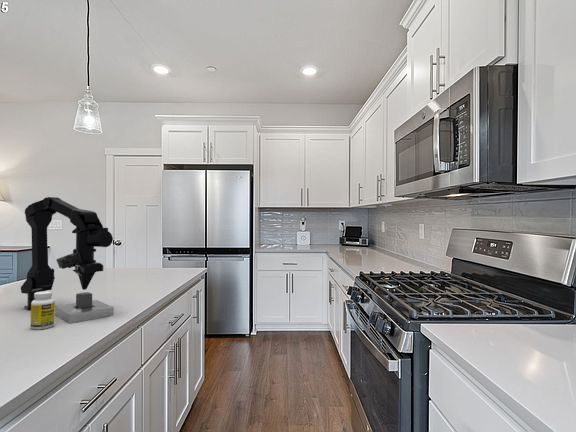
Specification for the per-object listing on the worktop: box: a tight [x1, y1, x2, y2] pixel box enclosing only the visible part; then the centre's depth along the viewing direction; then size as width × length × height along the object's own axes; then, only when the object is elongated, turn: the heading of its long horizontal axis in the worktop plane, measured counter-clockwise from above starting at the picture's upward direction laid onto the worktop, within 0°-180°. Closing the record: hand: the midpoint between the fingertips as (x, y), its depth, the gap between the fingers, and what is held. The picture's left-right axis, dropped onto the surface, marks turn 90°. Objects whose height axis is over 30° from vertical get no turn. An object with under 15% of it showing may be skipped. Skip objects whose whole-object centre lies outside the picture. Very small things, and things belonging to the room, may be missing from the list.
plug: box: [75, 291, 93, 309], centre depth 127 cm, size 4×4×7 cm
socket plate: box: [54, 299, 114, 325], centre depth 127 cm, size 16×14×4 cm
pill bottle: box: [30, 290, 56, 331], centre depth 113 cm, size 6×6×11 cm
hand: (84, 289), depth 127 cm, fingers closed
